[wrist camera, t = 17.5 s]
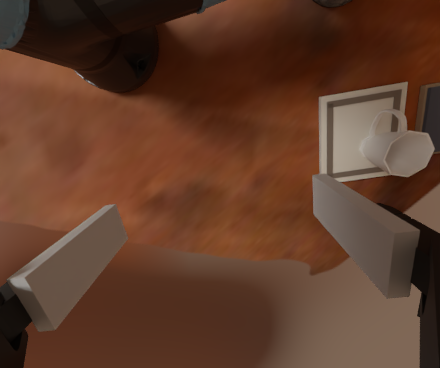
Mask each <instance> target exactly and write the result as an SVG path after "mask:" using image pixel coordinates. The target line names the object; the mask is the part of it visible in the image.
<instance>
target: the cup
mask: <svg viewBox="0 0 440 368" xmlns="http://www.w3.org/2000/svg"><path fill="white" fill-rule="evenodd" d="M385 112H389V113H392V114H394V115H395V116H396V117H397V118H398V120H399V128H398V132H386V133H381V134H377V135H375V129H376V126H377V124H378V122H379V120H380V118H381V117H382V115H383V114H384V113H385ZM359 150H360V152H361V154H362V156H363V157H366V158H367V159H368V160H369V161H370V162H371V163H372V164H374V165H376V166H377V167H379V168H381V169H382V170H384V171H385V172H387V173H388V174H390V175H396V176H403V177H409V176H411V175H413V174H415V173H416V172H418V171H420V170H422V169H423V168H425V167H426V166H427V164H428V162H429V160H430V158H431V156H432V154H433V152H434V150H435V148H434V145H433V143H432V141H431V138H430V136H429V134H428V133H423V132H416V131H410V130H409V131H407V120H406V117H405V115H404V114H403V113H402V112H401V111H399V110H396V109H386V110H383V111H380V112H379V113H378V114H377V115H376V117H375V119H374V121H373V123H372V125H371V128H370V131H369V136H368V137H367V138H365V139H364V140H362V143H361V146H360V148H359Z"/></svg>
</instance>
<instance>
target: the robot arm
mask: <svg viewBox="0 0 440 368" xmlns="http://www.w3.org/2000/svg"><path fill="white" fill-rule="evenodd" d="M224 1H226V0H0V49H2V50H3V49H6V50H9V51H13V52H16V53H20V54H23V55H27V56H30V57H33V58H37V59H40V60H44V61H47V62H51V63H54V64H58V65H61V66H64V67H68V68H71V69H73V70H74V71H75V72H76V73H77V74H78V75H79V76H80V77H81V78H83V79H84V80H85V81H87V82H88V83H90V84H92V85H94V86H96V87H98V88H100V89H104V90H108V91H113V92H127V91H131V90H134V89H136V88H138V87H139V86H141V85H142V84H143V83H145V82H146V81H147V79H148V78H149V77H150V75H151V74H152V72H153V70H154V68H155V65H156V62H157V58H158V36H157V31H156V27H155V25H159V24H162V23H165V22H168V21H171V20H174V19H177V18H180V17H184V16H187V15H190V14H193V13H197V14H200V13H202V12H204V10H205V9H206V8H208V7H211V6H213V5H216V4H218V3H221V2H224ZM313 213H314V215H315V216H316V218H317V219H318V220H319V221H320V222H321V223H322V224H323V226H324V227H325V228H326V229H327V230H328V231H329V233H330V234H331V235H332V236H333V237H334V238H335V239H336V241H337V242H338V243H339V244H340V245H341V246H342V247H343V249H344V250H345V251H346V252H347V253H348V254H349V256H350V257H351V258H352V259H353V260H354V261H355V262H356V264H357V265H358V266H359V267H360V268H361V269H362V270H363V272H364V273H365V274H366V275H367V276H368V277H369V279H370V280H371V281H372V282H373V283H374V284H375V285H376V287H377V288H378V289H379V290H380V291H381V292H382V293H383V295H384V296H385V297H386V298H387V299H388V298H398V297H409V295H410V289H411V283H412V284H414V285H415V286H416V287H417V288H418V289H419V290H420V291H421V292H422V293H421V299H420V304H419V309H418V315H417V316H418V317H420V368H440V233H438V232H436V231H434V230H432V229H430V228H429V227H427V226H425V225H423V224H422V223H420V222H418V221H416V220H414V219H411V217H409V216H407V215H406V214H403V213H402V212H400V211H398V210H397V209H395V208H393V207H390V206H387V205H384V204H381V203H377V204H375V203H374V202H372V201H370V200H369V199H367V198H365V197H364V196H362V195H360V194H359V193H357V192H355V191H354V190H352V189H350V188H349V187H347V186H345V185H344V184H342V183H340V182H339V181H337V180H335V179H334V178H332V177H330V176H329V175H327V174H325V173H324V174H318V175H313ZM127 239H128V237H127V234H126V231H125V228H124V226H123V223H122V220H121V217H120V214H119V212H118V209H117V206H116V204H113V205H106V206H104V207H103V208H101V209H100V210H99V211H97V212H96V213H95V214H93V215H92V216H91V217H89V218H88V219H87V220H85V221H84V222H83V223H81V224H80V225H79V226H77V227H76V228H75V229H73V230H72V231H71V232H69V233H68V234H67V235H65V236H64V237H63V238H61V239H60V240H59V241H57V242H56V243H55V244H53V245H52V246H51V247H50V248H48V249H47V250H46V251H44V252H43V253H41V254H40V255H39V256H37V257H36V258H35V259H33V260H32V261H31V262H29V263H28V264H27V265H25V266H24V267H23V268H21V269H20V270H19V271H17V272H16V273H15V274H13V275H12V276H11V277H9V278H8V279H7V283H5V284H4V285H3V286H1V287H0V368H23V367H24V360H25V354H26V348H27V341H28V334H27V332H26V330H25V328H26V327H27V326H28V325H29V323H31V322H33V324H34V325H35V327H36V328H37V330H38V331H49V330H56V328H57V327H58V326H59V325H60V323H61V322H62V321H63V320H64V318H65V317H66V316H67V314H68V313H69V312H70V311H71V310H72V308H73V307H74V306H75V305H76V303H77V302H78V300H80V298H81V297H82V296H83V295H84V293H85V292H86V291H87V290H88V288H89V287H90V286H91V285H92V283H93V282H94V281H95V280H96V278H97V277H98V276H99V274H100V273H101V272H102V271H103V269H104V268H105V267H106V266H107V264H108V263H109V262H110V261H111V259H112V258H113V257H114V256H115V254H116V253H117V252H118V251H119V249H120V248H121V247H122V245H123V244H124V243H125V242H126V241H127Z"/></svg>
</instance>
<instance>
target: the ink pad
mask: <svg viewBox="0 0 440 368" xmlns="http://www.w3.org/2000/svg"><path fill="white" fill-rule="evenodd" d="M415 131H416V132H423V133H428V134H429V136H430V138H431V141H432V143H433V145H434V148H435V150H434V152H433V154H437V153H440V83H434V84H428V85H422V86H421V87H420V95H419V102H418V110H417V117H416V125H415Z"/></svg>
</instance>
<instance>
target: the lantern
mask: <svg viewBox="0 0 440 368" xmlns="http://www.w3.org/2000/svg"><path fill="white" fill-rule="evenodd" d="M313 1H315V2H316V3H318V4H320V5H322V6H326V7H338V6H341V5H344V4H346V3H348V2H350V1H352V0H313Z"/></svg>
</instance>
